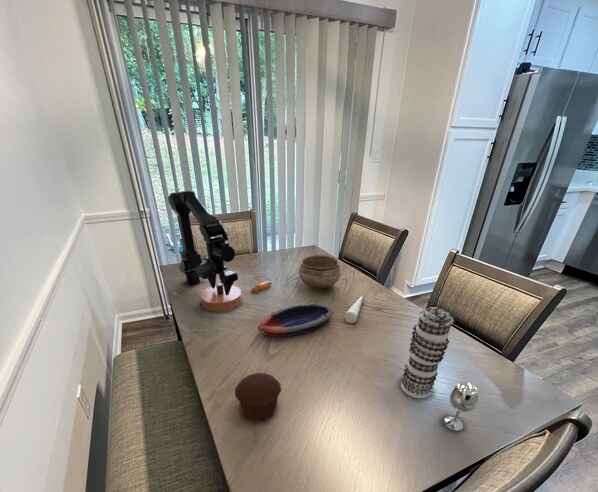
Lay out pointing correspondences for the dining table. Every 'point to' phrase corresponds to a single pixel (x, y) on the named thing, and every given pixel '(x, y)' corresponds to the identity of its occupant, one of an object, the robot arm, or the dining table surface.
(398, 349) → the dining table surface
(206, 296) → the lid
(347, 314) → the unicorn horn
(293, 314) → the dish
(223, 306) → the faceted terracotta bowl
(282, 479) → the dining table surface
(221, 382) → the dining table surface
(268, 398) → the muffin
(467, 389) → the wineglass
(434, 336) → the decorative candle
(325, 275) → the cooking pot
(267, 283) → the carrot
